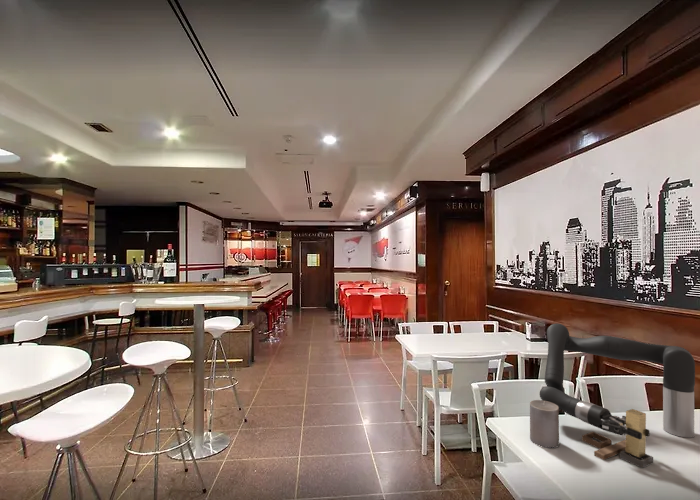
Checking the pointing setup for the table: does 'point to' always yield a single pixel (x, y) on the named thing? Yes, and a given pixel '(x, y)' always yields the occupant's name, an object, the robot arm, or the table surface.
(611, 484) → the table surface
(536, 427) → the pillar candle
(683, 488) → the table surface
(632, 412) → the tan wooden block
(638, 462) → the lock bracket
